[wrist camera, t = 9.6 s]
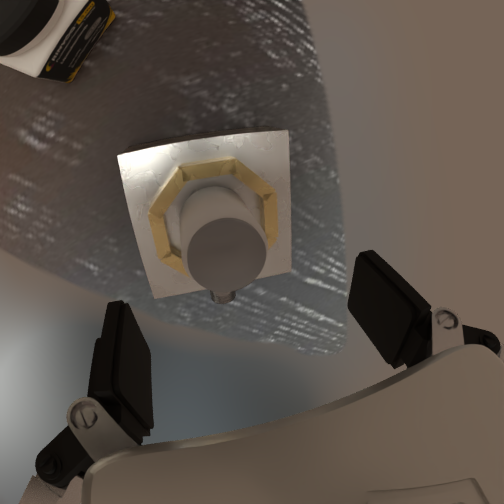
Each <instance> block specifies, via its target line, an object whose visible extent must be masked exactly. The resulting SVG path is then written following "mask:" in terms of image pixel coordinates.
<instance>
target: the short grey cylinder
mask: <svg viewBox="0 0 504 504" xmlns="http://www.w3.org/2000/svg"><path fill="white" fill-rule="evenodd" d="M180 240H181V256H182V263H183V266H184V269H185V271H186V273H187V274H188V275H189V277H190V278H191V279H192V280H193V281H194V282H196V283H197V284H199V285H200V286H202V287H204V288H206V289H208V290H211V291H215V292H231V291H235V290H238V289H241V288H243V287H245V286H247V285H248V284H250V283H251V282H252V281H254V280H255V279H256V278H257V276H258V275H259V274H260V272H261V271H262V269H263V267H264V264H265V262H266V259H267V255H268V241H267V237H266V235H265V232H264V231H263V229H262V228H261V226H260V225H259V223H258V222H257V221H256V219H255V218H254V216H253V215H252V214H251V212H250V211H249V209H248V208H247V207H246V205H245V204H244V202H243V201H242V200H241V198H240V197H239V196H238V195H237V194H236V193H234V192H233V191H231V190H229V189H227V188H224V187H217V186H213V187H206V188H203V189H200V190H198V191H196V192H195V193H193V194H192V195H191V196H190V197H189V198H188V199H187V200H186V202H185V203H184V205H183V207H182V209H181V212H180Z"/></svg>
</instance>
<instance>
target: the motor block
mask: <svg viewBox="0 0 504 504" xmlns="http://www.w3.org/2000/svg"><path fill="white" fill-rule="evenodd" d="M117 157H118V162H119V167H120V172H121V177H122V182H123V187H124V192H125V196H126V200H127V205H128V209H129V213H130V217H131V221H132V225H133V229H134V233H135V236H136V240H137V244H138V247H139V251H140V254H141V258H142V261H143V264H144V268H145V271H146V274H147V277H148V281H149V284H150V287H151V290H152V293H153V296H154V299H156V298H162V297H167V296H173V295H178V294H183V293H189V292H194V291H199V290H204V289H206V288H204V287H202V286H200V285H199V284H197V283H196V282H194V281H193V280H192V279H191V278H190V277H189V275H188V274H187V273H186V271H185V269H184V266H183V263H182V256H181V240H180V212H181V209H182V207H183V205H184V203H185V202H186V200H187V199H188V198H189V197H190V196H191V195H192V194H193V193H195V192H196V191H198V190H200V189H203V188H206V187H213V186H217V187H224V188H227V189H229V190H231V191H233V192H234V193H236V194H237V195H238V196H239V197H240V198H241V200H242V201H243V202H244V204H245V205H246V207H247V208H248V209H249V211H250V212H251V214H252V215H253V216H254V218H255V219H256V221H257V222H258V223H259V225H260V226H261V228H262V229H263V231H264V232H265V235H266V237H267V241H268V255H267V259H266V262H265V264H264V267H263V269H262V271H261V272H260V274H259V275H258V276H257V278H256V279H259V278H263V277H268V276H273V275H278V274H282V273H287V272H291V191H290V159H289V135H288V130H285V129H280V128H275V127H270V126H260V127H249V128H238V129H229V130H220V131H213V132H205V133H198V134H192V135H186V136H180V137H174V138H168V139H163V140H158V141H153V142H148V143H143V144H139V145H134V146H130V147H128V148H127V149H125V150H124V151H123V152H121V153H120V154H119V155H117ZM210 294H211V299H212V300H213V301H214V302H215V303H219V304H225V303H229V302H231V301H232V300H233V299H234V298H235V296H236V293H235V291H231V292H215V291H211V290H210Z"/></svg>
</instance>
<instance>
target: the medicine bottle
mask: <svg viewBox="0 0 504 504" xmlns="http://www.w3.org/2000/svg"><path fill="white" fill-rule="evenodd" d="M114 18H115V13H114V12H113V10H112V9H111V7H110V6H109V4H108V3H107V1H106V0H0V63H1V64H3V65H6V66H8V67H11V68H13V69H16V70H18V71H20V72H23V73H25V74H27V75H30V76H32V77H36V78H42V79H48V80H54V81H59V82H64V83H70V82H72V80H73V79H74V77H75V75H76V73H77V72H78V70H79V68H80V67H81V65H82V64H83V62H84V60H85V59H86V57H87V56H88V54H89V53H90V51H91V50H92V48H93V47H94V45H95V44H96V42H97V41H98V40H99V38H100V37H101V35H102V34H103V33H104V31H105V30H106V29H107V27H108V26H109V25H110V23H111V22H112V21H113V20H114Z"/></svg>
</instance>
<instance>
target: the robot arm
mask: <svg viewBox="0 0 504 504" xmlns="http://www.w3.org/2000/svg"><path fill="white" fill-rule="evenodd" d="M348 309H349V311H350V313H351V314H352V315H353V317H354V318H355V319H356V321H357V322H358V323H359V325H360V326H361V328H362V329H363V330H364V332H365V333H366V335H367V336H368V337H369V339H370V340H371V341H372V343H373V344H374V346H375V347H376V348H377V350H378V351H379V353H380V354H381V356H382V357H383V358H384V360H385V361H386V362H387V363H388V364H391V366H392V367H393V368H394V369H396V368H398V367H400V366H402V365H403V364H404V363H405V364H406V366H407V369H406V370H404V371H402V372H400V373H398V374H396V375H394V376H392V377H390V378H388V379H386V380H383V381H381V382H379V383H377V384H375V385H373V386H370V387H368V388H366V389H363V390H361V391H359V392H356V393H354V394H351V395H349V396H346V397H344V398H341V399H339V400H336V401H333V402H331V403H328V404H325V405H322V406H320V407H317V408H314V409H311V410H308V411H305V412H302V413H298V414H295V415H292V416H289V417H285V418H282V419H278V420H275V421H271V422H267V423H264V424H260V425H256V426H252V427H248V428H243V429H238V430H234V431H229V432H224V433H219V434H213V435H208V436H202V437H196V438H190V439H184V440H176V441H168V442H162V443H154V444H147V445H141V443H142V442H143V436H150V429H153V427H154V421H153V407H152V385H151V353H150V350H149V347H148V345H147V343H146V341H145V339H144V337H143V335H142V333H141V331H140V328H139V326H138V324H137V322H136V319H135V317H134V315H133V313H132V310H131V308H130V306H129V304H128V303H124V302H123V301H122V300H120V301H114V302H109V303H108V305H107V310H106V314H105V319H104V325H103V329H102V335H101V338H98V339H97V340H96V343H95V347H94V353H93V359H92V366H91V372H90V379H89V386H88V395H87V397H83V398H79V399H77V400H75V401H74V402H73V403H72V404H71V405H70V407H69V409H68V411H67V423H68V426H67V427H66V428H65V429H64V430H63V431H62V432H60V433H59V434H58V435H57V436H56V437H55V438H54V439H53V440H52V441H51V442H50V443H49V444H48V445H47V446H46V447H45V448H44V449H43V450H42V451H40V453H39V454H38V455H37V458H36V462H35V467H36V471H37V475H36V477H35V476H32V478H31V480H30V481H29V484H28V485H27V488H26V490H25V492H24V494H23V496H22V498H21V500H20V502H19V504H80V503H81V504H504V344H502V345H501V346H500V342H499V340H498V338H497V337H496V336H495V335H494V334H493V333H491V332H489V331H486V330H482V329H478V328H473V327H470V326H466V325H462V322H461V319H460V317H459V316H458V314H456V312H454V311H453V310H451V309H449V308H444V307H440V308H437V309H435V310H434V311H433V313H432V312H431V311H430V309H431V305H430V304H428V303H427V301H426V300H425V299H424V298H423V297H422V296H421V295H420V294H419V293H418V292H417V291H416V290H415V289H414V288H413V287H412V286H411V285H410V284H409V283H408V282H407V281H405V279H404V278H403V277H402V276H401V275H399V274H398V273H397V272H396V271H395V270H394V269H393V268H392V267H391V266H390V265H389V264H388V263H387V262H385V260H384V259H382V258H381V257H380V256H379V255H378V254H377V253H376V252H375V251H373V250H368V251H364V252H360V253H359V255H358V257H356V261H355V266H354V272H353V278H352V283H351V289H350V294H349V299H348Z"/></svg>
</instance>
